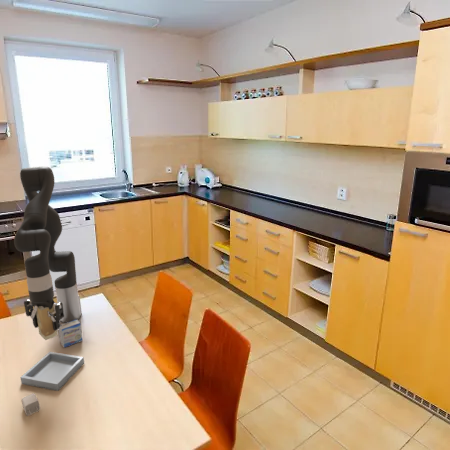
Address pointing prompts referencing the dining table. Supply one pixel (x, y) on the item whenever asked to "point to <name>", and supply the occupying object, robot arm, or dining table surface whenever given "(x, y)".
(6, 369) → the dining table surface
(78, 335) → the medicine box
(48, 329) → the skincare box
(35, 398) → the usb wall charger
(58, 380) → the tray
